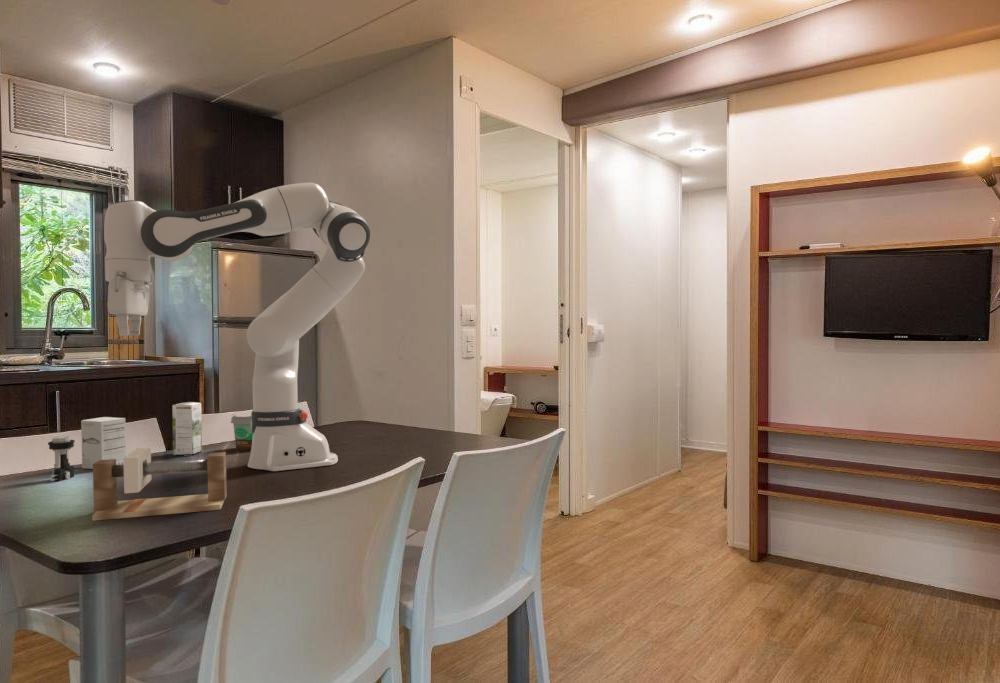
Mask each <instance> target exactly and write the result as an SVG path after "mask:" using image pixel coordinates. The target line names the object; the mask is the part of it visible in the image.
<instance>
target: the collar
mask: <svg viewBox="0 0 1000 683" xmlns="http://www.w3.org/2000/svg"><path fill="white" fill-rule="evenodd" d="M151 462H152V448H151V447H139V448H136V449H135V450H133V451H132V452H130V453H129V454H127V455H126V457H125V458H123V463H124V477H123V488H124V489H123V491H124V494H135V493H137V494H138V493H140V492H141V491H142V490H143V489H144V487H146V486H147V485H148V484H149V483H150V482H151V481H152V475H143V463H151Z"/></svg>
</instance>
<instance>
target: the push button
mask: <svg viewBox="0 0 1000 683" xmlns="http://www.w3.org/2000/svg"><path fill="white" fill-rule="evenodd" d="M74 443H75V439H71V436H69V435H67V436H65V435H64V436H56V437H52V440H51V441H48V443H47V445H48V449H49V450H52V451H53V452H54V466H53V467H54V469H52V470H51V475H49V477H50V478H51V479H49V481H50V482H51V481H53V482H61V481H65V480H67V479H71V478H74V477H75V468H74V465H71V463H70V455H69V454H70V453H69V450H71V449H72V448H74V446H75V444H74Z"/></svg>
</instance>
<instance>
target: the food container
mask: <svg viewBox="0 0 1000 683" xmlns="http://www.w3.org/2000/svg"><path fill="white" fill-rule="evenodd" d="M230 424H233V434H234V442H235V450H236V451H240V452H241V451H242V452H244V451H246V452H251V448H252V439H253V433H252V430H251V415H248V416H237V414H236V413H235V414H232V416H231V420H230Z"/></svg>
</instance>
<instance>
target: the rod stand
mask: <svg viewBox="0 0 1000 683" xmlns="http://www.w3.org/2000/svg"><path fill="white" fill-rule="evenodd" d="M194 472H195V473H196V472H207V493H204V494H202V493H201V494H190V495H178V496H167V497H166V496H165V497H154V498H144V497H143V498H135V499H128V500H127V499H126V500H118V478H124V464H121V465H116V459H109V460H98V461H97V462H95V463H94V464H93V469H92V484H93V486H92V487H93V488H92V489H93V512H94V513H93V514H92V515H91V516H92V518H91V519H92V521H101V520H102V521H103V520H105V521H106V520H114V519H116V520H117V519H127V518H138V517H151V516H161V515H172V514H185V513H194V512H195V513H197V512H198V513H199V512H208V511H219V510H221V509H222V507H223V505H224V503H225V500H226V498H227V496H228V494H227V493H228V491H227V489H228V485H227V452H226V451H221V452H209V454H208V455H207V456H206V458H201V459H200V458H197V459H185V460H183V459H182V460H172V461H171V460H170V461H155V462H154V461H153V462H152V461H151V463H143V475H151V476H154V475H166V474H167V475H168V474H169V475H170V474H171V475H172V474H181V473H182V474H183V473H184V474H185V473H194Z"/></svg>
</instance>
